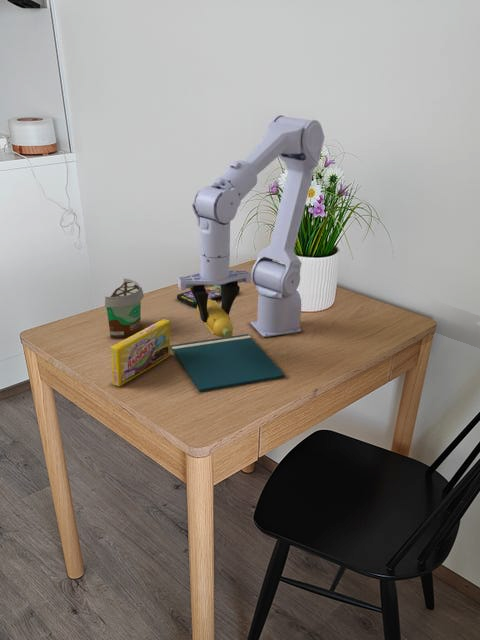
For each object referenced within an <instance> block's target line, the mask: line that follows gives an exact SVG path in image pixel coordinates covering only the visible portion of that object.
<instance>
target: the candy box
mask: <svg viewBox="0 0 480 640" xmlns="http://www.w3.org/2000/svg"><path fill="white" fill-rule="evenodd" d="M170 345H171V321H170V320H168V319H165V318H162V319H160V320H159V321H157V322H155V323H153V324H151V325H150V326H147V327H146V328H144V329H142V330H140V331H139V332H138V333H136V334H134V335H132V336H130V337H126V338H124V339H123V340H121V341H119V342H117V343H115V344H113V345H112V346H110V351H111V353H110V354H111V355H110V356H111V372H112V374H111V375H112V385H113V386H116V387H118V388H120V387H121V386H123V385H125V384H126V383H128V382H130V381H131V380H133V379H134V378H136V377H138V376H139V375H141V374H142V373H144V372H146V371H148V370H150V369H151V368H152V367H154V366H156V365H158V364H159V363H161V362H162V361H164V360H165V359H167V358H169V357H170V356H171V348H170Z"/></svg>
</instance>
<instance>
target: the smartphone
mask: <svg viewBox="0 0 480 640" xmlns="http://www.w3.org/2000/svg"><path fill="white" fill-rule="evenodd" d="M205 288H206V292H207V293H208V294H209V295H208V299H211V300H213V301H214V300H215V301H218V300H222V296H221V285H213V286H205ZM176 300H178V301H180V302H181V303H184V304H186V305H188V306H191V307H194V308H195V307H196V308H197V302H196V300H195V297H194V295H193V293H192V291H191V289H190V290H188V291H185V292H181V293H179V294H176Z"/></svg>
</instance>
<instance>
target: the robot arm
mask: <svg viewBox="0 0 480 640" xmlns="http://www.w3.org/2000/svg"><path fill="white" fill-rule="evenodd" d="M325 138H326V137H325V134H324V131H323V127H322V125H321V122H319V120H316V119H311V120H310V119H304V118H297V117H289V116H285V115H281V114H279V115H276V116H275V117H274V118H272V120H271V121H270V122H269V123H268V124H267V126H266V131H265V135H264V136H263V137H262V139H261V140H260V142H258V144H257V145H256V146H255V147H254V149H252V151H250V153H249V155H248V156H247V157H246V158H245V159H244V160H241V159H240V160H239V159H237V160H233V161H232V162H231V163H230V164H229V167H228V168H227V169H226V170H225V171H224V172H223V173H222V174H221V175H220V176H219V177H218V178H216V179H215V181H214V182H213V183H212V184H211V185H210V186H209V185H207V186H206V185H205V186H203V187H202V188H200V189H198V191H197V192H196V193H195V196H194V200H193V202H192V203H191V206H192V211H193V214H194V215H195V217H196V224H197V226H198V228H199V272H197V273H193V274H190V275H185V276H179V277H177V288H178V289H179V290H180V291H186V290H187V289H190V290H191V291H192V293H193V295H194V297H195V300H196V302H197V305H198V308H199V312H200V314H199V318H200V317H201V318H200V320H201V321H202V323H204V322H207V301H208V295H209V294H208V293H207V292H206V288H205V286H213V285H221V296H222V298H221V305H220V307H221V308H222V309H223V310H224V311H225V312H226V313H227V314H228V316H229V317H230V312H231V309H232V306H233V304H234V302H235V300H236V298H237V296H238V295H239V293H240V291H241V287H240V286H239V284H240V283H245V284H249V283H251V282H252V283H253V285H254V286H255V290H256V291H257V292H258V294H257V295H258V296H257V314H256V315H257V317H256V319H257V320H254V321H250V325H251V326H252V327H253V328H254V329H255V330H256V331H257V333H258V334H260V335H261V337H263V338H269V337H276V336H282V335H289V334H296V333H300V332H302V329H301V328H300V327H301V317H302V298H301V295H300V292H299V291H298V288H299V285H300V282H301V268H302V261H301V259H300V258H299V257H298V255H297V254H296V253H295V246H296V244H297V243H296V242H297V239H298V235H299V230H300V227H301V223H302V219H303V216H304V212H305V207H306V203H307V200H308V195H309V192H310V188H311V185H312V184H311V183H312V180H313V177H314V172H315V168H317V167H318V165H319V160H320V157H321V152H322V149H323V146H324V141H325ZM277 158H280V160H281V161H282V162H283V163H285V166H286V168H287V173H286V177H285V181H284V186H283V190H282V194H281V198H280V202H279V206H278V209H277V213H276V218H275V222H274V227H273V230H272V234H271V239H270V243H269V245H268V246H266V247H265V248H263V249H261V250H260V251H259V252H258V254H257V258H256V259H255V260H256V261H255V263H254V264H253V266H252V268H251V272H250V271H249V270H248V269H245V270H231V269H230V261H231V260H230V257H231V256H230V254H231V221H233V220H234V219H235V217H236V215H237V212H238V209H239V207H240V206H241V203H242V200H243V199H244V198H246V196H247V195H248V194H249V193H250V192H251V191H252V190H253V189H254V188H255V187H256V185H257V184H258V175H259V174H260V173H261V172H262V171H263V170H265V169H266V168H267V167H268V166H269V165H270V164H271V163H273V162H274V161H275V160H276V159H277Z"/></svg>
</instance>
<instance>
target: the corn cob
mask: <svg viewBox="0 0 480 640" xmlns="http://www.w3.org/2000/svg"><path fill="white" fill-rule="evenodd" d="M196 310H197V314H198V315H200V312H199V308H198V305H197V307H196ZM199 319H201V317H200V316H199ZM203 324H204V325H205V326H206V328H207V329H208V330H209V331H210V332H211V334H212V335H213V336H217V337H218V338H225V337H226V338H230V337H231V336H233V328H234V326H233V325H234V324H233V322H232V320H231V317H230V315H229V316H228V314H227V313H226V312H225V311H224V310H223V309H222V308H221V305H219V303H218V302H217V300H214V301H213V300H211V299H208V301H207V322H203Z"/></svg>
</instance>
